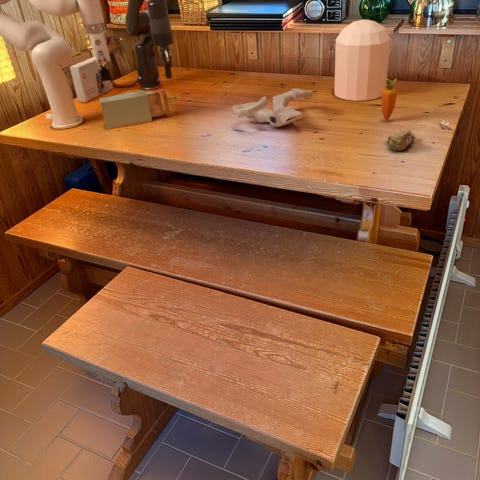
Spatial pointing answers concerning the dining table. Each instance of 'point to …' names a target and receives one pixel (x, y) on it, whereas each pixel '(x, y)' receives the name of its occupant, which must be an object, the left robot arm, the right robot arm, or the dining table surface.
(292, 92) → the beige branched piece
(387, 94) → the carrot
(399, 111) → the dining table surface
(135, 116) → the grey rectangular box
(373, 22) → the container
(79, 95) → the skincare box
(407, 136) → the rock
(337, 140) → the dining table surface
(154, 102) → the drawer
